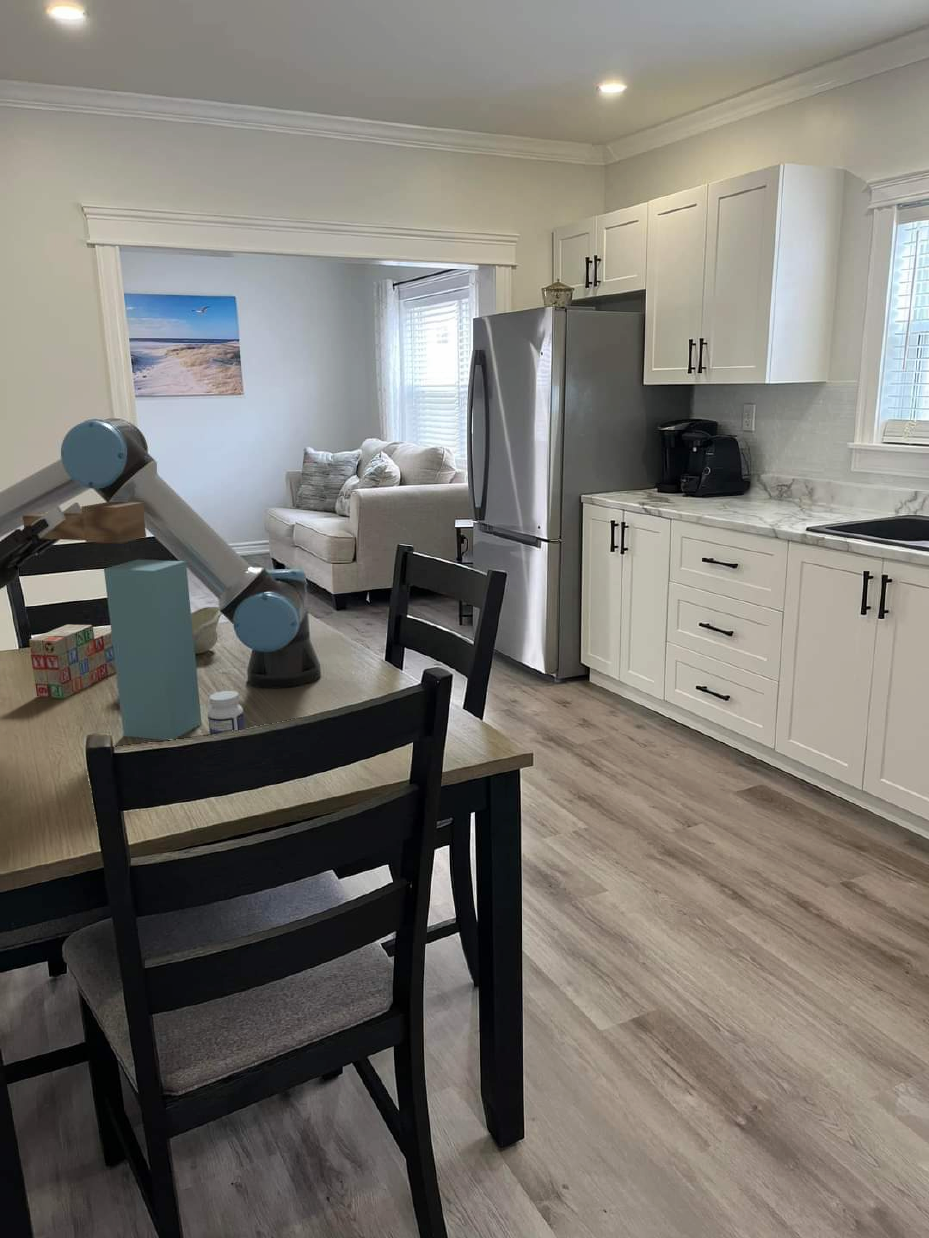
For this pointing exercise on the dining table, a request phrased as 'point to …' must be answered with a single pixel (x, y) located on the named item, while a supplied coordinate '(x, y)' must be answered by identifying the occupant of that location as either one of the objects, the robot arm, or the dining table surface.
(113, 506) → the brown wooden block
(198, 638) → the bowl
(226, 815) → the dining table surface
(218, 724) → the pill bottle
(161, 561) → the stand
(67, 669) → the stack of blocks
